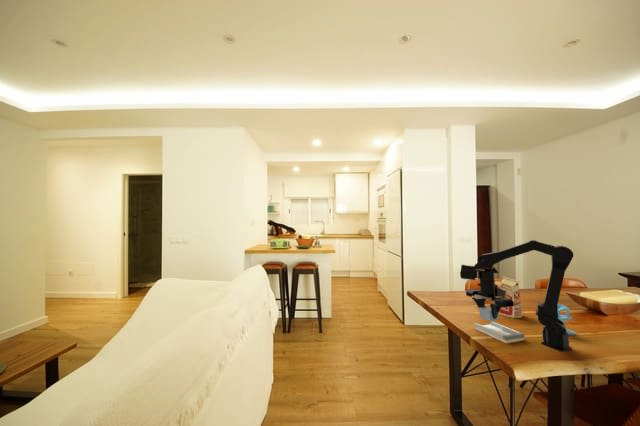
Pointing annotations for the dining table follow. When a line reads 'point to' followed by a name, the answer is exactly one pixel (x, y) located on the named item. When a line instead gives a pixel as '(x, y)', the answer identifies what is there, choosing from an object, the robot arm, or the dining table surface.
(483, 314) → the block
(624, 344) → the dining table surface
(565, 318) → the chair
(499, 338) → the board
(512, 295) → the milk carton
